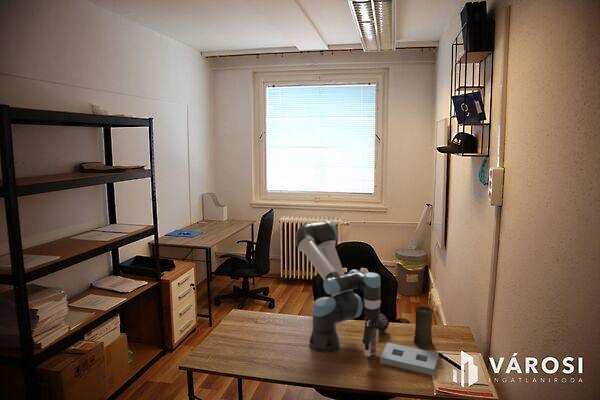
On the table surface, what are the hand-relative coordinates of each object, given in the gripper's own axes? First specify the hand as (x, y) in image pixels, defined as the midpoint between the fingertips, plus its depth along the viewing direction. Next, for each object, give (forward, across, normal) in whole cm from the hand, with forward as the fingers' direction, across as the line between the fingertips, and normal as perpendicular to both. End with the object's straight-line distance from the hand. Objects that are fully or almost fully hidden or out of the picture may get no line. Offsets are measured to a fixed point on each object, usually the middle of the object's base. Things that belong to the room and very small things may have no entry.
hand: (371, 348), depth 196 cm
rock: (+5, +26, +3) cm, 27 cm away
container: (+5, +23, -20) cm, 31 cm away
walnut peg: (+5, 0, 0) cm, 5 cm away
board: (+5, +4, -17) cm, 18 cm away
